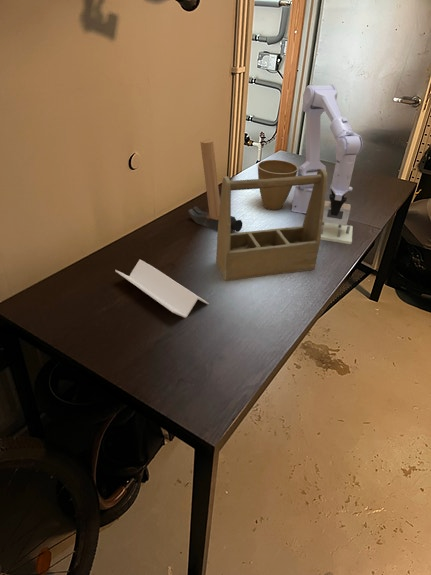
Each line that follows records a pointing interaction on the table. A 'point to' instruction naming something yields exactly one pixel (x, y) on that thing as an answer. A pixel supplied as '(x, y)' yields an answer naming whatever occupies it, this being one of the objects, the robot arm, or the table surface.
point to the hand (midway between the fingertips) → (334, 211)
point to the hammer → (211, 192)
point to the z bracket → (162, 289)
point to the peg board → (336, 233)
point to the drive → (340, 218)
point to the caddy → (270, 233)
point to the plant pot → (275, 169)
